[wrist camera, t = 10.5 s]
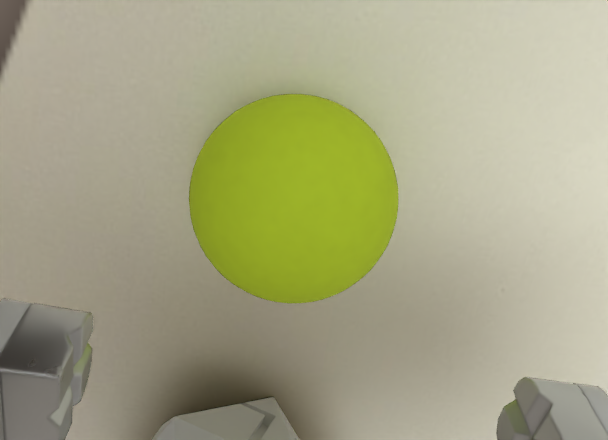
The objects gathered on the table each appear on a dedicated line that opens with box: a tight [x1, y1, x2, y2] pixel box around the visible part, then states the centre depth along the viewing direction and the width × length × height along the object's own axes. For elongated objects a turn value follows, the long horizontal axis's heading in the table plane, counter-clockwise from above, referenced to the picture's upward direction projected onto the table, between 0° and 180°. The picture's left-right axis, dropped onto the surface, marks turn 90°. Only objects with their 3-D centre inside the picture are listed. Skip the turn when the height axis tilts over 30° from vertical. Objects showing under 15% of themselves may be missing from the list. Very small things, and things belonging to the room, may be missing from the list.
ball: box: [189, 94, 398, 303], centre depth 17 cm, size 6×6×6 cm
